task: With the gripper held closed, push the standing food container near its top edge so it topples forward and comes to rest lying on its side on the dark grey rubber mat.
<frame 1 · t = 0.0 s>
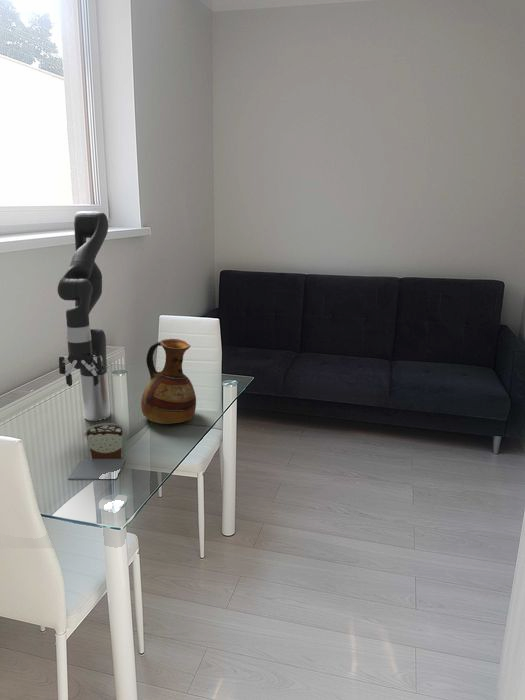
hand: (83, 385, 178), 17 cm above the table, tool pointing down, fingers open, 8 cm apart
ceramic pitcher: (169, 419, 195), on the table
food container: (109, 455, 167), on the table
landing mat: (97, 469, 158), on the table
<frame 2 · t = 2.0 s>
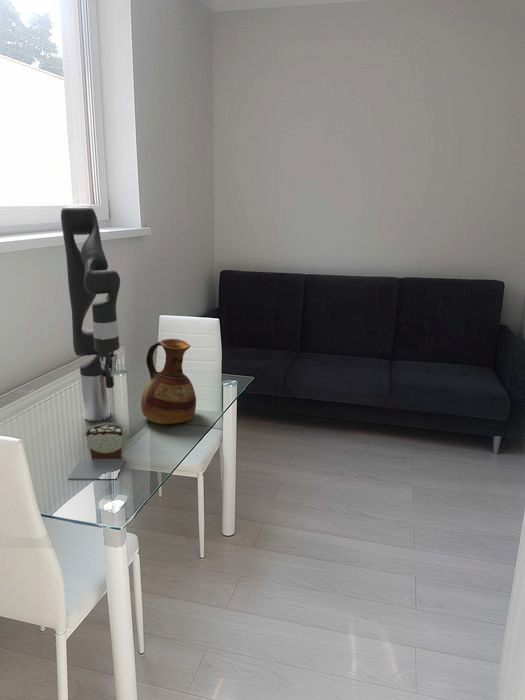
hand: (110, 387, 168), 20 cm above the table, tool pointing down, fingers closed
nothing on the table moved.
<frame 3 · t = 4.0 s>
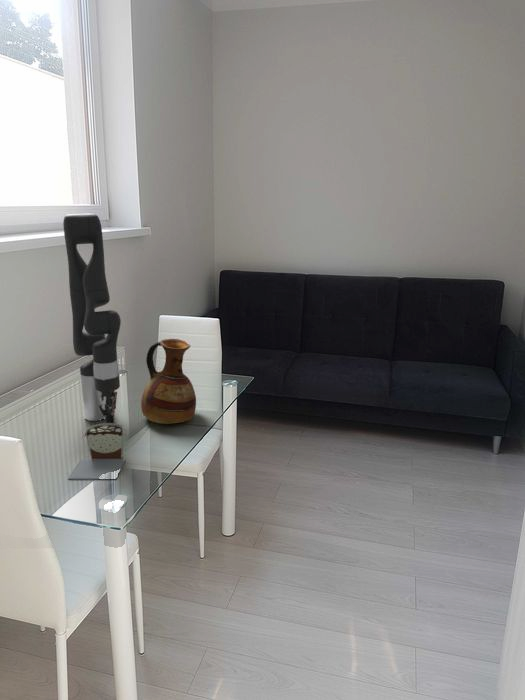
hand: (110, 424, 169), 9 cm above the table, tool pointing down, fingers closed
food container: (109, 455, 167), on the table, touching gripper
everything else where it was.
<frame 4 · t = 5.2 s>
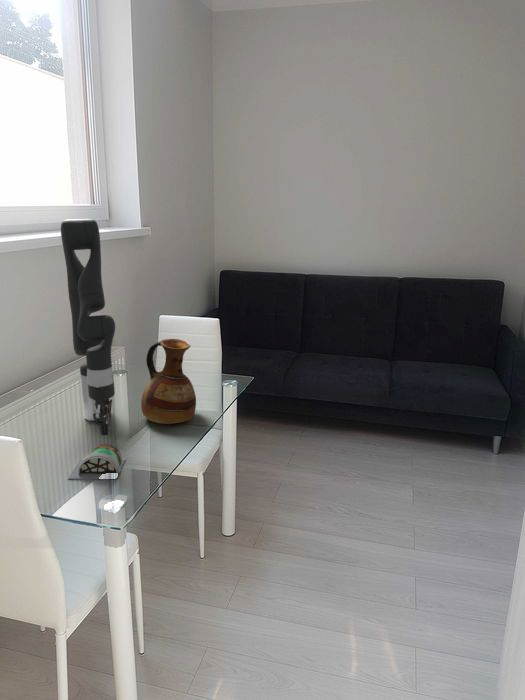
hand: (105, 434, 162), 9 cm above the table, tool pointing down, fingers closed
food container: (106, 449, 164), point 3 cm above the table, touching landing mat
everything else where it was.
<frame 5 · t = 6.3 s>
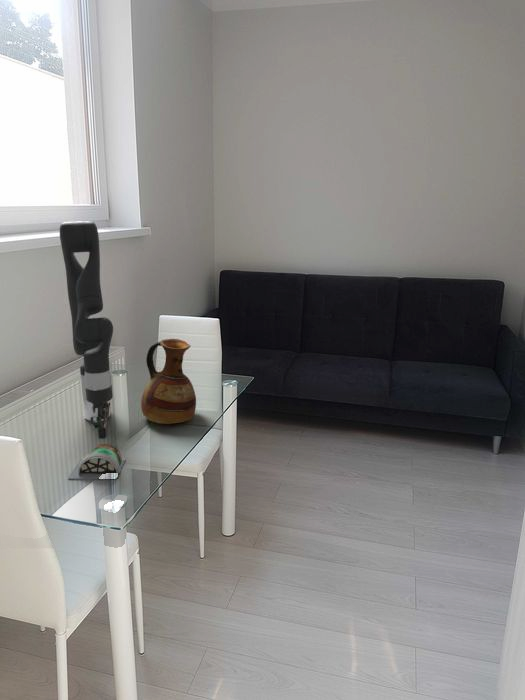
hand: (102, 437, 160), 9 cm above the table, tool pointing down, fingers closed
nothing on the table moved.
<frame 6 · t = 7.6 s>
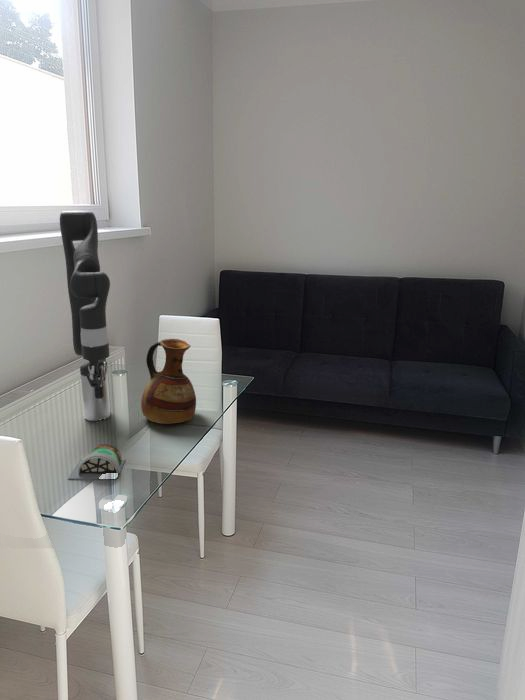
hand: (99, 397, 156), 22 cm above the table, tool pointing down, fingers closed
nothing on the table moved.
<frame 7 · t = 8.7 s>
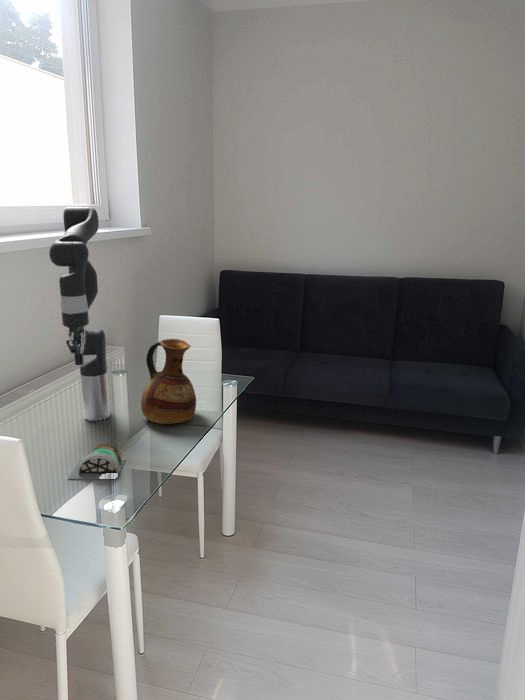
hand: (79, 364, 163), 29 cm above the table, tool pointing down, fingers closed
nothing on the table moved.
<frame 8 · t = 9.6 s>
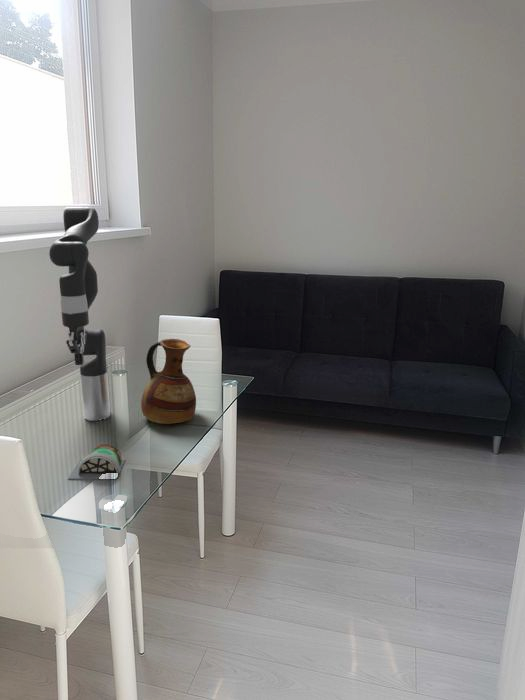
hand: (79, 364, 163), 29 cm above the table, tool pointing down, fingers closed
nothing on the table moved.
at the end: food container tilted 90°; food container touching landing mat; food container moved 4.5 cm from its start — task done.
